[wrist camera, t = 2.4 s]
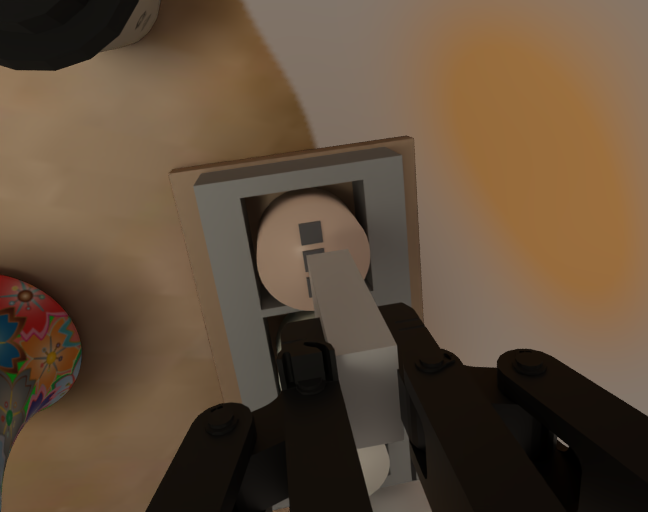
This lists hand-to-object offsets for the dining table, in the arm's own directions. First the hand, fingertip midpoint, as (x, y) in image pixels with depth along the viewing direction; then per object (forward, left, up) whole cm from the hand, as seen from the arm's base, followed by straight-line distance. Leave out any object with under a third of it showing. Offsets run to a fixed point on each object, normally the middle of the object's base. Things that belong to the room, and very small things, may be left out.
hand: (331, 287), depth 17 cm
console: (0, -6, -9) cm, 11 cm away
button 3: (0, 0, -6) cm, 6 cm away
